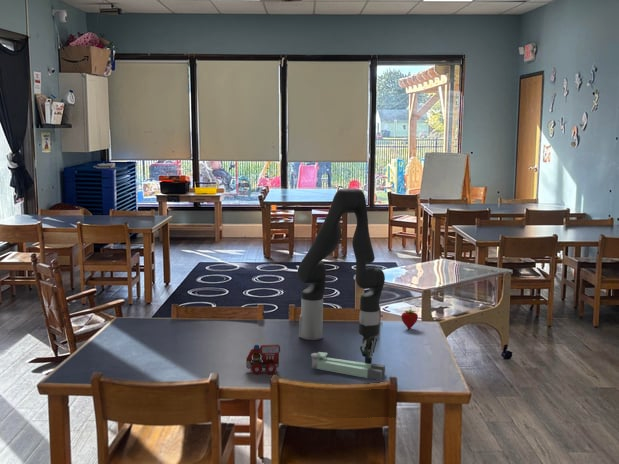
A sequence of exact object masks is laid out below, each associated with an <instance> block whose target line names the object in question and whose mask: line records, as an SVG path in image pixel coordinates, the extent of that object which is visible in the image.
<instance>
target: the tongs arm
mask: <svg viewBox="0 0 619 464" xmlns="http://www.w3.org/2000/svg"><path fill="white" fill-rule="evenodd" d="M310 356H311V359H312V358H320V359H322V360H325V361H330V362H336V363H342V364H347V365H353V366H359V367H364V368H373V369H379V370H382V377H383V376H385V374H386V365H385V364H379V363H378V364H377V363H372V364H368V363H365V362H361V361H353V360H349V359H348V360H346V359H339V358H333V357H327V356H328V352H322V351H318V352H313V353H311V354H310Z"/></svg>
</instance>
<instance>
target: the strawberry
mask: <svg viewBox="0 0 619 464" xmlns="http://www.w3.org/2000/svg"><path fill="white" fill-rule="evenodd" d="M409 307H410V309H409V310H404V312H403V313H402V314H401V321H402V322H403V324H404V325H405V327H407V329H409V330H410V329H411V328H413V326H414V325H416V323H417V321H418V319H419V315H418V314H417V311H415V310H412V307H411V306H409Z"/></svg>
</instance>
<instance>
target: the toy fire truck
mask: <svg viewBox="0 0 619 464" xmlns="http://www.w3.org/2000/svg"><path fill="white" fill-rule="evenodd" d="M280 352H281V346H280V344H261V345H258V344H254V346H253V348H252V349H250V351H249V353H248V355H247V357H246V363H245V364H246V365H245V366H246V368H247V369H248V370H250V369H251V372H252V374H254V375H260V374H261V373H263V372H262V371H263V369H264V370H265V373H267V374H268V375H273V374H275V373H276V372H277V369H278V368H279V366H280Z"/></svg>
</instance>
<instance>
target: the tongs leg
mask: <svg viewBox="0 0 619 464" xmlns="http://www.w3.org/2000/svg"><path fill="white" fill-rule="evenodd" d="M311 368H312V369H313V370H321V371H326V372H332V373H337V374H338V373H339V374H344V375H348V376H354V377H360V378H364V379H365V378H366V379H370V380H377V381H381V380H382V379H383V375H382V370H379V369H373V368H364V367H359V366H353V365H347V364H342V363H336V362H330V361H325V360H323V359H321V358H312V357H311Z"/></svg>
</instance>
